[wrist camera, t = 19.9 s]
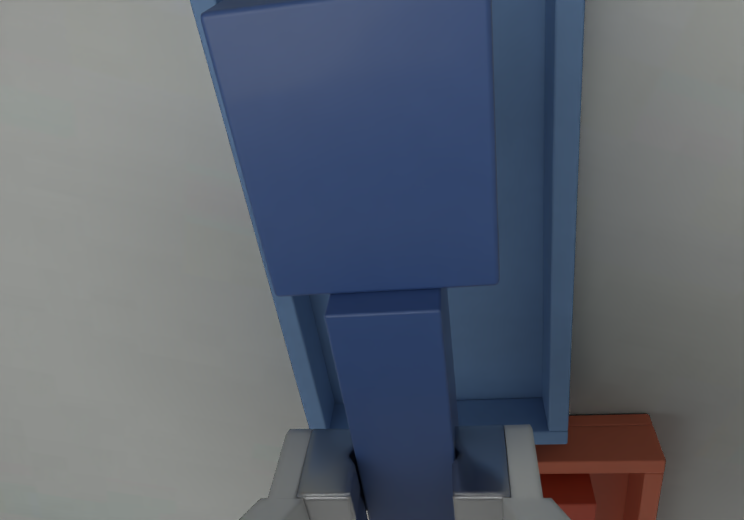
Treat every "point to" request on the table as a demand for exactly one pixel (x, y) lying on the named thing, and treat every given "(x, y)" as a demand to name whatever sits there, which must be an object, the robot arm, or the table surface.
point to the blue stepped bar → (372, 203)
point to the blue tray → (516, 241)
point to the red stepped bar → (571, 494)
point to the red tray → (612, 463)
